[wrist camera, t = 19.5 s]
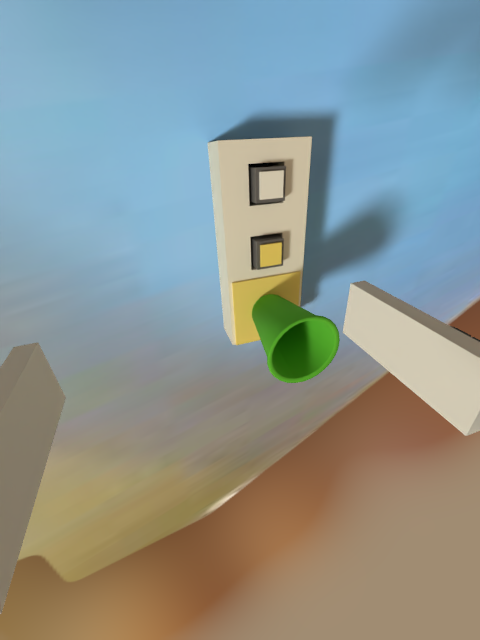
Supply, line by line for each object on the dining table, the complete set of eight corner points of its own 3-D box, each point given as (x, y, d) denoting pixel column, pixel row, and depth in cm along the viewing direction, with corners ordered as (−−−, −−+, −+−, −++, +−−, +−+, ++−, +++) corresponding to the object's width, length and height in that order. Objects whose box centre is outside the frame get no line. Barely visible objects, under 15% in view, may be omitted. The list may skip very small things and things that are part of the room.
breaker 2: (241, 231, 40) (257, 242, 34) (265, 228, 40) (284, 238, 35) (242, 256, 41) (258, 270, 36) (265, 253, 42) (284, 266, 37)
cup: (302, 282, 41) (351, 317, 32) (287, 336, 45) (325, 381, 35) (244, 277, 37) (279, 315, 28) (233, 336, 41) (260, 386, 32)
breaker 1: (239, 166, 36) (256, 168, 30) (265, 164, 36) (287, 165, 31) (240, 197, 37) (257, 203, 32) (265, 195, 38) (286, 201, 33)
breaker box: (207, 142, 33) (218, 140, 29) (291, 139, 36) (313, 136, 32) (224, 328, 47) (233, 345, 42) (285, 315, 49) (299, 330, 45)
